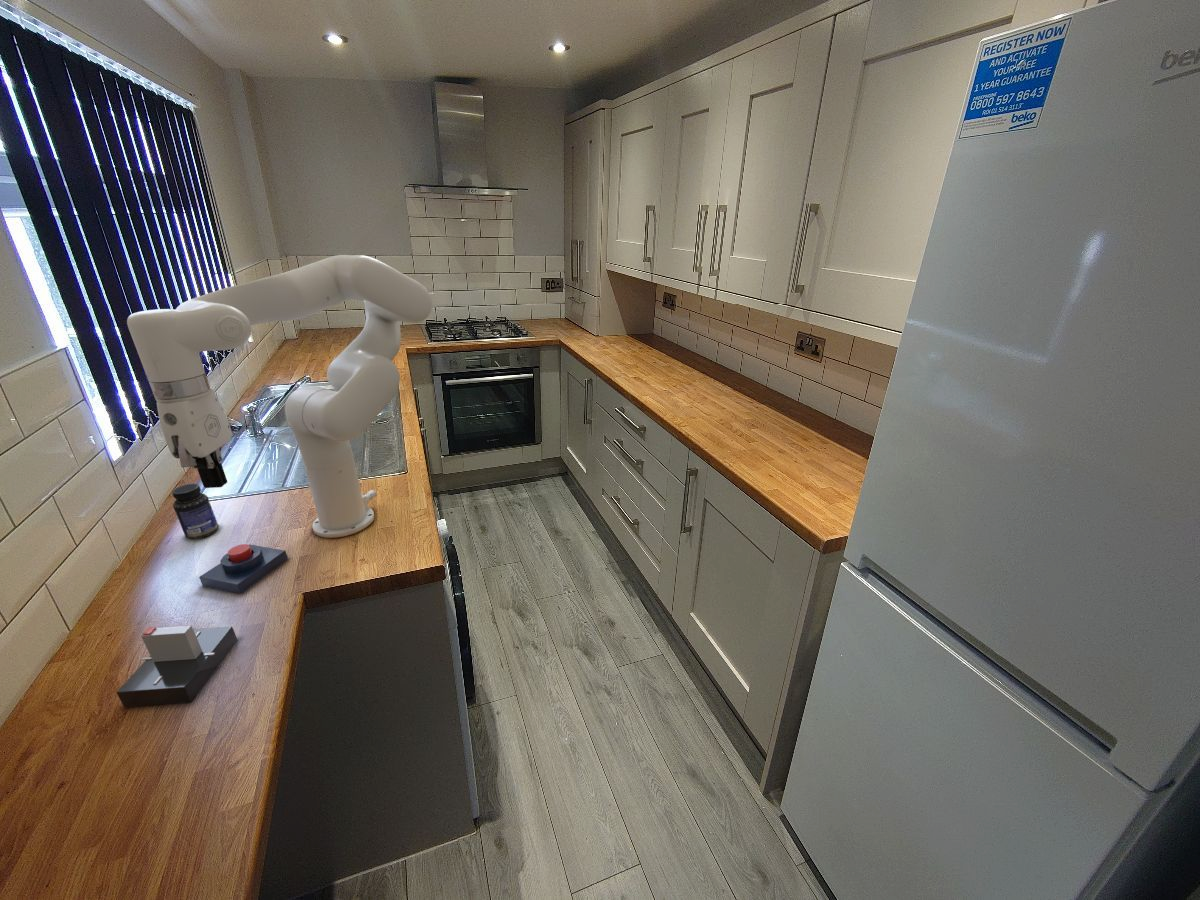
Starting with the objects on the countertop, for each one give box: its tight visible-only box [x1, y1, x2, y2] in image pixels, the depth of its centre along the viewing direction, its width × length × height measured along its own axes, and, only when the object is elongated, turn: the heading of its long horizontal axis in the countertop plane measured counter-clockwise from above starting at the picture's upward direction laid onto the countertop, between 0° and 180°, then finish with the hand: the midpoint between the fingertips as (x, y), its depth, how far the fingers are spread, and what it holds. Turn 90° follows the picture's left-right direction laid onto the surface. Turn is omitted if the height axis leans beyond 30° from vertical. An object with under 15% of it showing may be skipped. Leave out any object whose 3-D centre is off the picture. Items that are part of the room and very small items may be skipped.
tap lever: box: [140, 625, 202, 662], centre depth 77 cm, size 6×2×5 cm, turn 95°
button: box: [227, 543, 252, 562], centre depth 100 cm, size 4×4×2 cm
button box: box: [198, 543, 289, 595], centre depth 101 cm, size 11×9×4 cm
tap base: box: [116, 625, 238, 709], centre depth 79 cm, size 12×10×3 cm
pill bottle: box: [171, 483, 220, 540], centre depth 113 cm, size 6×6×11 cm
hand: (216, 485), depth 94 cm, fingers closed
